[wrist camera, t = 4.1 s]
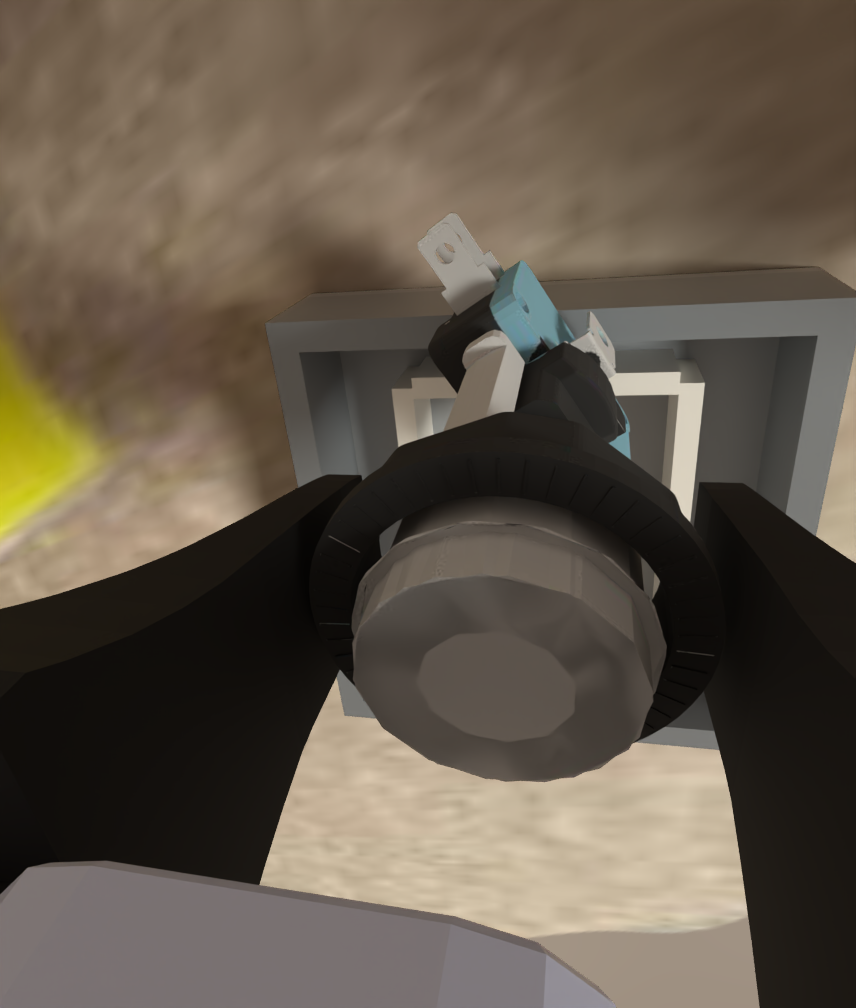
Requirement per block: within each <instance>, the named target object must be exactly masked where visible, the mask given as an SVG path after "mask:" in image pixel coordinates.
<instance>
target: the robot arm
mask: <svg viewBox="0 0 856 1008" xmlns="http://www.w3.org/2000/svg"><path fill="white" fill-rule="evenodd" d="M361 481H362V475H339V474H327V475H324V476H322V477H319V478H317V479H315V480H313V481H311V482H308V483H306V484H305V485H303V486H301V487H299V488H297V489H295V490H293V491H291V492H290V493H288V494H286V495H284V496H282V497H281V498H279V499H277V500H275V501H273V502H272V503H270V504H268V505H266V506H264V507H263V508H261V509H259V510H257V511H255V512H254V513H252V514H250V515H248V516H246V517H245V518H243V519H241V520H239V521H237V522H235V523H233V524H231V525H229V526H227V527H225V528H223V529H221V530H219V531H217V532H215V533H213V534H211V535H209V536H207V537H205V538H203V539H201V540H199V541H197V542H195V543H193V544H191V545H189V546H187V547H185V548H183V549H180V550H178V551H176V552H174V553H171V554H169V555H167V556H164V557H162V558H160V559H157V560H155V561H152V562H150V563H147V564H145V565H142V566H140V567H137V568H135V569H132V570H129V571H127V572H124V573H121V574H118V575H115V576H112V577H109V578H106V579H103V580H100V581H97V582H94V583H91V584H88V585H84V586H81V587H78V588H75V589H72V590H69V591H66V592H63V593H60V594H56V595H53V596H49V597H46V598H42V599H38V600H34V601H31V602H27V603H23V604H19V605H15V606H11V607H7V608H3V609H0V1008H616V1005H615V1004H614V1003H613V1002H612V1000H610V998H609V997H608V996H607V995H606V994H605V993H604V992H603V991H602V990H601V989H600V988H599V987H598V986H597V985H596V984H594V983H592V982H591V981H590V980H589V979H587V978H586V977H585V976H583V975H582V974H580V973H579V972H577V971H576V970H575V969H574V968H572V967H571V966H569V965H568V964H567V963H565V962H564V961H563V960H561V959H560V958H558V957H557V956H556V955H554V954H553V953H552V952H550V951H549V950H547V949H546V948H545V947H543V946H542V945H541V944H539V943H537V942H534V941H531V940H528V939H525V938H522V937H519V936H516V935H512V934H509V933H506V932H503V931H500V930H496V929H493V928H490V927H487V926H484V925H481V924H477V923H474V922H471V921H468V920H465V919H462V918H458V917H455V916H449V915H443V914H436V913H430V912H424V911H418V910H411V909H405V908H399V907H393V906H386V905H380V904H374V903H368V902H361V901H355V900H349V899H343V898H336V897H330V896H324V895H318V894H311V893H305V892H299V891H293V890H286V889H280V888H274V887H267V886H261V885H259V884H260V881H261V877H262V874H263V870H264V867H265V863H266V860H267V857H268V854H269V851H270V848H271V844H272V841H273V838H274V835H275V832H276V829H277V825H278V822H279V819H280V816H281V813H282V810H283V806H284V803H285V801H286V798H287V795H288V792H289V789H290V786H291V783H292V780H293V777H294V774H295V771H296V768H297V766H298V763H299V760H300V757H301V754H302V751H303V749H304V746H305V744H306V742H307V739H308V737H309V734H310V732H311V730H312V727H313V725H314V723H315V721H316V719H317V717H318V715H319V712H320V710H321V708H322V706H323V704H324V702H325V700H326V698H327V696H328V693H329V691H330V689H331V687H332V685H333V683H334V681H335V679H336V677H337V675H338V672H339V670H340V669H339V668H338V666H337V665H336V664H335V662H334V661H333V659H332V658H331V656H330V655H329V653H328V651H327V650H326V648H325V646H324V644H323V642H322V640H321V638H320V636H319V633H318V630H317V628H316V625H315V622H314V618H313V614H312V610H311V605H310V597H309V575H310V569H311V563H312V559H313V556H314V552H315V549H316V546H317V544H318V542H319V540H320V538H321V536H322V534H323V532H324V530H325V528H326V526H327V524H328V522H329V521H330V519H331V517H332V515H333V514H334V512H335V511H336V509H337V508H338V506H339V505H340V503H341V502H342V501H343V499H344V498H345V497H346V496H347V495H348V494H349V493H350V492H351V491H352V489H353V488H354V487H356V486H357V485H358V484H359V483H360V482H361ZM694 528H695V530H696V531H697V533H698V534H699V536H700V537H701V539H702V540H703V542H704V544H705V546H706V548H707V550H708V552H709V554H710V556H711V558H712V560H713V563H714V566H715V569H716V572H717V575H718V579H719V583H720V588H721V593H722V598H723V603H724V608H725V621H726V632H725V640H724V647H723V651H722V654H721V658H720V661H719V664H718V666H717V668H716V670H715V673H714V675H713V677H712V679H711V680H710V682H709V684H708V685H707V687H706V688H705V690H704V694H705V698H706V702H707V706H708V709H709V713H710V717H711V721H712V724H713V728H714V732H715V735H716V739H717V743H718V747H719V750H720V754H721V758H722V761H723V765H724V769H725V773H726V778H727V782H728V787H729V792H730V796H731V801H732V808H733V814H734V821H735V827H736V834H737V841H738V847H739V854H740V860H741V867H742V874H743V881H744V889H745V896H746V903H747V911H748V918H749V925H750V932H751V940H752V947H753V956H754V964H755V973H756V981H757V989H758V997H759V1006H760V1008H856V563H854V562H853V561H851V560H850V559H848V558H847V557H845V556H844V555H842V554H841V553H839V552H838V551H836V550H835V549H833V548H832V547H830V546H829V545H828V544H826V543H825V542H823V541H822V540H820V539H819V538H818V537H816V536H815V535H813V534H812V533H811V532H809V531H808V530H806V529H805V528H804V527H802V526H801V525H800V524H798V523H797V522H796V521H794V520H793V519H792V518H790V517H789V516H788V515H786V514H785V513H784V512H782V511H781V510H780V509H778V508H777V507H776V506H774V505H773V504H772V503H770V502H769V501H768V500H766V499H765V498H764V497H762V496H761V495H760V494H758V493H757V492H756V491H754V490H753V489H751V488H750V487H748V486H747V485H745V484H744V483H724V482H699V489H698V497H697V505H696V513H695V521H694Z"/></svg>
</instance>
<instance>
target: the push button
mask: <svg viewBox="0 0 856 1008" xmlns="http://www.w3.org/2000/svg"><path fill="white" fill-rule="evenodd" d="M456 233H457V234H458V235H459V236H460V237H461V239H462V242H461V240H460V239H459V237H458V236H457V234H456ZM444 243H446V244H450V245H451V246H452V247H453V248H454V251H455V252H452V251H449V250H448V249H447V248H446V247H445V245H444ZM418 249H419V250H420V252H421V253H422V255H423V256H424V258H425V259H426V260H427V262H428V263H429V265H430V266H431V267H432V269H433V270H434V272H435V273H436V275H437V276H438V277H439V279H440V280H441V282H442V283H443V284H444V286H445V287H446V289H445V290H444V291H442V292H441V294H442V295H443V297H444V298H445V299H446V301H447V302H448V304H449V305H450V306H451V308H452V309H453V311H454V314H453V316H452V318H451V319H449V320H448V321H446V322H445V323H443V324H442V325H440V326H439V327H438V328H437V330H436V332H435V334H434V336H433V338H432V339H431V341H430V343H429V345H428V351H429V354H430V357H431V359H432V360H433V362H434V364H435V365H436V366H437V368H438V369H439V370H440V372H441V373H442V374H443V376H444V377H445V378H446V380H447V381H448V382H449V384H450V385H451V386H452V388H453V389H454V390H455V392H456V393H457V397H456V399H455V402H454V405H453V407H452V410H451V412H450V415H449V418H448V420H447V423H446V425H445V428H444V430H443V432H440V433H436V434H433V435H430V436H427V437H424V438H421V439H418V440H415V441H412V442H409V443H406V444H403V445H401V446H400V447H398V448H397V449H396V450H395V451H394V452H393V453H392V455H391V456H390V457H389V458H388V460H387V461H386V462H385V463H384V465H383V466H382V467H380V468H379V469H377V470H376V471H374V472H373V473H371V474H370V475H368V476H367V477H366V478H365V479H364V480H363V481H361V482H360V483H359V484H358V485H357V486H356V487H354V488H353V489H352V491H351V492H350V493H349V494H348V495H347V496H346V497H345V498H344V499H343V501H342V502H341V503H340V505H339V506H338V508H337V509H336V511H335V512H334V514H333V515H332V517H331V519H330V521H329V522H328V524H327V526H326V528H325V530H324V532H323V534H322V536H321V538H320V540H319V542H318V544H317V546H316V549H315V552H314V556H313V559H312V563H311V569H310V575H309V597H310V605H311V610H312V614H313V618H314V622H315V625H316V628H317V630H318V633H319V636H320V638H321V640H322V642H323V644H324V646H325V648H326V650H327V651H328V653H329V655H330V656H331V658H332V659H333V661H334V662H335V664H336V665H337V666H338V668H339V669H340V670H341V671H342V673H343V674H344V675H345V676H346V678H347V679H348V680H349V681H350V682H351V683H352V684H353V685H354V686H355V688H356V689H357V691H358V692H359V693H360V695H361V696H362V698H363V699H364V701H365V702H366V704H367V705H368V707H369V708H370V710H371V711H372V713H373V714H374V716H375V717H376V719H377V720H378V721H379V723H380V724H381V726H382V727H383V728H384V729H385V730H386V731H388V732H389V733H391V734H392V735H394V736H395V737H397V738H398V739H399V740H401V741H402V742H404V743H405V744H407V745H408V746H410V747H411V748H412V749H414V750H415V751H417V752H418V753H420V754H421V755H423V756H424V757H425V758H427V759H428V760H431V761H434V762H435V763H437V764H440V765H444V766H447V767H451V768H455V769H458V770H461V771H464V772H467V773H470V774H473V775H476V776H479V777H482V778H485V779H497V780H501V781H505V782H507V781H535V782H547V781H551V780H555V779H559V778H572V777H576V776H578V775H580V774H582V773H584V772H587V771H591V770H595V769H599V768H601V767H602V766H604V765H605V764H606V763H608V762H609V761H610V760H611V759H613V758H614V757H615V756H617V755H619V754H621V753H623V752H625V751H627V750H629V748H630V746H631V744H632V743H635V742H637V741H639V740H641V739H644V738H646V737H648V736H650V735H652V734H654V733H655V732H657V731H659V730H661V729H662V728H664V727H666V726H667V725H668V724H670V723H671V722H673V721H674V720H675V719H677V718H678V717H679V716H680V715H682V714H683V713H684V712H685V711H686V710H687V709H688V708H689V707H690V706H691V705H692V704H693V703H694V702H695V701H696V700H697V699H698V697H699V696H700V695H701V694H702V693H703V691H704V690H705V688H706V687H707V685H708V684H709V682H710V680H711V679H712V677H713V675H714V673H715V670H716V668H717V666H718V664H719V661H720V658H721V654H722V651H723V647H724V640H725V632H726V621H725V608H724V603H723V598H722V593H721V588H720V583H719V579H718V575H717V572H716V569H715V566H714V563H713V560H712V558H711V556H710V554H709V552H708V550H707V548H706V546H705V544H704V542H703V540H702V539H701V537H700V536H699V534H698V533H697V531H696V530H695V528H694V527H693V525H692V524H691V523H690V521H689V520H688V519H687V518H686V517H685V516H684V515H683V514H682V512H681V509H680V506H679V503H678V500H677V498H676V496H675V494H674V493H673V492H672V491H671V490H670V489H668V488H667V487H666V486H664V485H663V484H662V483H661V482H659V481H658V480H657V479H655V478H654V477H653V476H651V475H650V474H649V473H647V472H646V471H645V470H643V469H642V468H641V467H639V466H638V465H637V464H635V463H634V462H633V461H631V456H630V443H629V432H630V426H629V422H628V419H627V417H626V414H625V413H624V411H623V409H622V408H621V406H620V404H619V403H618V401H617V400H616V398H615V394H614V391H613V388H612V385H611V383H610V381H609V378H610V377H612V376H614V375H615V374H616V371H615V369H614V368H616V365H615V350H614V348H613V345H612V343H611V341H610V339H609V338H608V336H607V335H606V333H605V331H604V330H603V328H602V327H601V325H600V323H599V322H598V320H597V319H596V317H595V315H594V314H593V313H592V312H591V311H589V312H587V323H586V329H587V332H586V333H585V334H584V335H582V336H580V337H579V338H577V339H575V337H574V336H573V334H572V333H571V331H570V330H569V328H568V327H567V325H566V324H565V322H564V320H563V319H562V317H561V316H560V314H559V313H558V311H557V310H556V308H555V307H554V305H553V303H552V302H551V300H550V299H549V297H548V296H547V294H546V293H545V291H544V289H543V288H542V286H541V285H540V283H539V282H538V280H537V279H536V277H535V276H534V274H533V272H532V271H531V269H530V268H529V267H528V265H527V264H526V263H525V262H524V261H523V260H521V261H519V262H518V263H517V264H515V265H514V266H512V267H511V268H509V269H508V270H506V271H505V272H504V271H503V269H502V268H501V266H500V265H499V263H498V262H497V260H496V259H495V257H494V256H493V254H492V253H491V251H490V250H489V251H488V252H487V253H485V254H483V252H482V251H481V249H480V248H479V246H478V245H477V243H476V242H475V240H474V239H473V237H472V236H471V234H470V233H469V231H468V230H467V228H466V227H465V225H464V224H463V222H462V221H461V219H460V218H459V216H458V215H457V213H452V212H451V213H450V214H448V215H447V216H446V217H445V218H443V219H442V220H441V221H439V222H438V223H437V224H436V225H434V226H433V227H432V228H430V229H429V230H428V231H427V235H426V236H425V237H423V238H422V239H421V240H420V241H419V242H418ZM436 251H437V252H438V254H439V255H440V257H441V258H442V260H443V261H444V262H445V263H442V262H440V261H439V260H438V259H437V256H436ZM600 336H601V337H600ZM601 338H602V339H601ZM602 340H603V341H602ZM402 518H403V519H402ZM401 519H402V521H401V524H400V526H399V529H398V531H397V534H396V536H395V538H394V541H393V543H392V546H391V548H390V550H389V551H388V552H387V553H386V554H385V555H384V556H383V557H382V556H381V549H380V541H379V540H380V535H381V534H382V533H383V532H384V531H385V530H386V529H388V528H389V527H390V526H392V525H393V524H394V523H396V522H397V521H399V520H401ZM641 557H642V558H643V559H644V560H645V561H646V562H647V563H648V565H649V566H650V567H651V569H652V570H653V571H654V573H655V574H656V576H657V577H658V579H659V580H660V583H659V586H658V589H657V591H656V593H655V595H654V597H653V599H652V601H651V600H650V598H649V597H648V595H647V594H646V593H645V592H644V585H643V573H642V562H641Z"/></svg>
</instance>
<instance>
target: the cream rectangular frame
mask: <svg viewBox="0 0 856 1008" xmlns="http://www.w3.org/2000/svg"><path fill="white" fill-rule="evenodd" d="M615 365H616V368H614V369H615V371H616V374H615V375H614V376H612V377H610V378H609V381H610V383H611V385H612V388H613V391H614V394H615V396H622V395H669V399H668V412H667V424H666V437H665V449H664V462H663V474H662V484H663V485H664V486H666V487H667V488H668V489H670V490H671V491H672V492H673V493H674V494H675V496H676V498H677V500H678V503H679V506H680V509H681V512H682V514H683V515H684V516H685V517H686V518H687V519H688V520H689V521H690V519H691V510H692V500H693V491H694V481H695V472H696V463H697V453H698V444H699V434H700V425H701V415H702V406H703V396H704V387H705V382H704V380H703V377H702V375H701V373H700V370H699V368H698V366H697V363H696V361H695V359H676V357H675V354H674V352H673V349H656V350H623V351H615ZM392 397H393V406H394V414H395V422H396V430H397V439H398V447H400V446H401V445H403V444H406V443H409V442H412V441H415V440H418V439H421V438H424V437H427V436H430V435H433V424H432V413H431V403H430V399H434V398H456V397H457V393H456V392H455V390H454V389H453V388H452V386H451V385H450V384H449V382H448V381H447V380H446V378H445V377H444V376H443V374H442V373H441V372H440V370H439V369H438V368H437V366H436V365H435V364H434V362H433V360H432V359H431V357H430V356H426V357H425V359H424V360H423V362H422V363H421V365H420V366H414V367H407V368H406V370H405V371H404V373H403V374H402V375H401V377H400V378H399V379H398V381H397V382H396V383H395V385H394V386H393V388H392ZM659 583H660V580H659V579H658V577H657V576H656V574H654V586H653V597H654V595H655V593H656V591H657V589H658V586H659ZM652 599H653V598H652Z"/></svg>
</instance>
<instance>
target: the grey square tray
mask: <svg viewBox="0 0 856 1008" xmlns="http://www.w3.org/2000/svg"><path fill="white" fill-rule="evenodd" d="M539 283H540V285H541V286H542V288H543V289H544V291H545V293H546V294H547V296H548V297H549V299H550V300H551V302H552V303H553V305H554V307H555V308H556V310H557V311H558V313H559V314H560V316H561V317H562V319H563V320H564V322H565V324H566V325H567V327H568V328H569V330H570V331H571V333H572V334H573V336H574V337H575V339H577V338H579V337H580V336H582V335H584V334H585V333H586V332H587V329H586V323H587V312H589V311H591V312H592V313H593V314H594V315H595V317H596V319H597V320H598V322H599V323H600V325H601V327H602V328H603V330H604V331H605V333H606V335H607V336H608V338H609V339H610V341H611V343H612V345H613V348H614V350H615V351H623V350H656V349H673V352H674V354H675V357H676V359H695V361H696V363H697V366H698V368H699V370H700V373H701V375H702V377H703V380H704V382H705V387H704V396H703V406H702V415H701V425H700V434H699V444H698V453H697V463H696V472H695V481H694V491H693V500H692V510H691V519H690V523H691V524H692V525H693V527H694V521H695V513H696V505H697V497H698V489H699V482H724V483H744V484H745V485H747V486H748V487H750V488H751V489H753V490H754V491H756V492H757V493H758V494H760V495H761V496H762V497H764V498H765V499H766V500H768V501H769V502H770V503H772V504H773V505H774V506H776V507H777V508H778V509H780V510H781V511H782V512H784V513H785V514H786V515H788V516H789V517H790V518H792V519H793V520H794V521H796V522H797V523H798V524H800V525H801V526H802V527H804V528H805V529H806V530H808V531H809V532H811V533H812V534H813V535H815V536H816V532H817V528H818V523H819V518H820V513H821V509H822V504H823V499H824V494H825V489H826V485H827V480H828V475H829V470H830V466H831V461H832V456H833V451H834V446H835V442H836V437H837V432H838V427H839V422H840V418H841V413H842V408H843V403H844V399H845V394H846V389H847V384H848V379H849V375H850V370H851V365H852V360H853V355H854V351H855V346H856V291H855V290H854V289H852V288H851V287H849V286H848V285H846V284H845V283H843V282H842V281H840V280H838V279H837V278H835V277H834V276H832V275H831V274H829V273H828V272H826V271H825V270H823V269H822V268H820V267H808V268H789V269H770V270H751V271H732V272H713V273H694V274H675V275H656V276H637V277H618V278H599V279H581V280H562V281H543V282H539ZM445 289H446V287H429V288H410V289H391V290H372V291H353V292H335V293H316V294H310V295H309V296H307V297H306V298H304V299H302V300H301V301H299V302H298V303H296V304H294V305H293V306H291V307H290V308H288V309H287V310H285V311H283V312H282V313H280V314H279V315H277V316H275V317H274V318H272V319H271V320H269V321H267V322H266V323H265V327H266V332H267V337H268V342H269V346H270V351H271V356H272V361H273V366H274V371H275V376H276V381H277V386H278V391H279V396H280V400H281V405H282V410H283V415H284V420H285V425H286V430H287V435H288V440H289V445H290V450H291V454H292V459H293V464H294V469H295V474H296V479H297V484H298V488H299V487H301V486H303V485H305V484H306V483H308V482H311V481H313V480H315V479H317V478H319V477H322V476H324V475H327V474H339V475H362V481H363V480H364V479H365V478H366V477H367V476H368V475H370V474H371V473H373V472H374V471H376V470H377V469H379V468H380V467H382V466H383V465H384V463H385V462H386V461H387V460H388V458H389V457H390V456H391V455H392V453H393V452H394V451H395V450H396V449H397V448H398V439H397V430H396V422H395V414H394V406H393V397H392V388H393V386H394V385H395V383H396V382H397V381H398V379H399V378H400V377H401V375H402V374H403V373H404V371H405V370H406V368H407V367H414V366H420V365H421V363H422V362H423V360H424V359H425V357H426V356H430V354H429V351H428V345H429V343H430V341H431V339H432V338H433V336H434V334H435V332H436V330H437V328H438V327H439V326H440V325H442V324H443V323H445V322H446V321H448V320H449V319H451V318H452V316H453V314H454V311H453V309H452V308H451V306H450V305H449V304H448V302H447V301H446V299H445V298H444V297H443V295H442V294H441V292H442V291H444V290H445ZM600 337H601V336H600ZM601 339H602V338H601ZM602 341H603V340H602ZM615 398H616V400H617V401H618V403H619V404H620V406H621V408H622V409H623V411H624V413H625V414H626V417H627V419H628V422H629V426H630V432H629V443H630V456H631V461H633V462H634V463H635V464H637V465H638V466H639V467H641V468H642V469H643V470H645V471H646V472H647V473H649V474H650V475H651V476H653V477H654V478H655V479H657V480H658V481H659V482H661V483H662V474H663V462H664V449H665V437H666V424H667V412H668V399H669V395H622V396H615ZM455 399H456V398H434V399H430V403H431V413H432V424H433V434H436V433H440V432H443V430H444V428H445V425H446V423H447V420H448V418H449V415H450V412H451V410H452V407H453V405H454V402H455ZM402 519H403V518H402ZM402 519H401V520H399V521H397V522H396V523H394V524H393V525H392V526H390V527H389V528H388V529H386V530H385V531H384V532H383V533H382V534H381V535H380V540H379V541H380V549H381V556H382V557H383V556H384V555H385V554H386V553H387V552H388V551H389V550H390V548H391V546H392V543H393V541H394V538H395V536H396V534H397V531H398V529H399V526H400V524H401V521H402ZM641 562H642V573H643V585H644V592H645V593H646V594H647V595H648V597H649V598H650V600H651V601H652V598H653V586H654V574H655V573H654V571H653V570H652V569H651V567H650V566H649V565H648V563H647V562H646V561H645V560H644V559H643V558H642V557H641ZM337 680H338V685H339V690H340V695H341V700H342V705H343V710H344V715H345V716H354V717H365V718H376V717H375V716H374V714H373V713H372V711H371V710H370V708H369V707H368V705H367V704H366V702H365V701H364V699H363V698H362V696H361V695H360V693H359V692H358V691H357V689H356V688H355V686H354V685H353V684H352V683H351V682H350V681H349V680H348V679H347V678H346V676H345V675H344V674H343V673H342V671H341V670H339V672H338V675H337ZM637 742H638V743H649V744H660V745H671V746H682V747H693V748H704V749H715V750H719V747H718V743H717V739H716V735H715V732H714V728H713V724H712V721H711V717H710V713H709V709H708V706H707V702H706V698H705V694H704V691H703V693H702V694H701V695H700V696H699V697H698V699H697V700H696V701H695V702H694V703H693V704H692V705H691V706H690V707H689V708H688V709H687V710H686V711H685V712H684V713H683V714H682V715H680V716H679V717H678V718H677V719H675V720H674V721H673V722H671V723H670V724H668V725H667V726H666V727H664V728H662V729H661V730H659V731H657V732H655V733H654V734H652V735H650V736H648V737H646V738H644V739H641V740H639V741H637Z"/></svg>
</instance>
